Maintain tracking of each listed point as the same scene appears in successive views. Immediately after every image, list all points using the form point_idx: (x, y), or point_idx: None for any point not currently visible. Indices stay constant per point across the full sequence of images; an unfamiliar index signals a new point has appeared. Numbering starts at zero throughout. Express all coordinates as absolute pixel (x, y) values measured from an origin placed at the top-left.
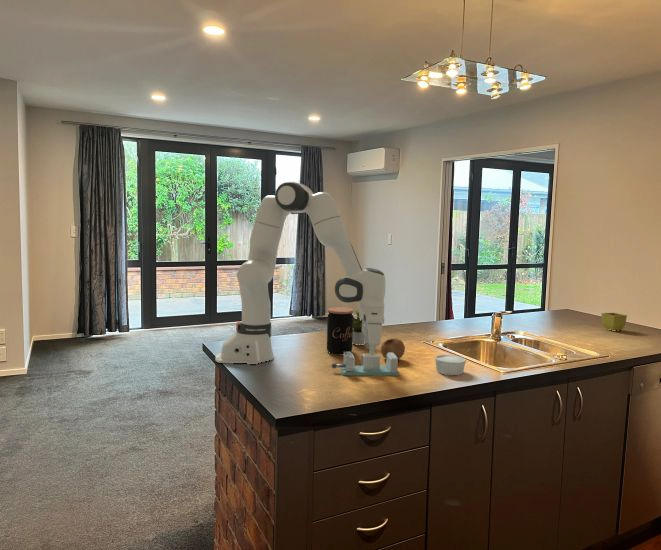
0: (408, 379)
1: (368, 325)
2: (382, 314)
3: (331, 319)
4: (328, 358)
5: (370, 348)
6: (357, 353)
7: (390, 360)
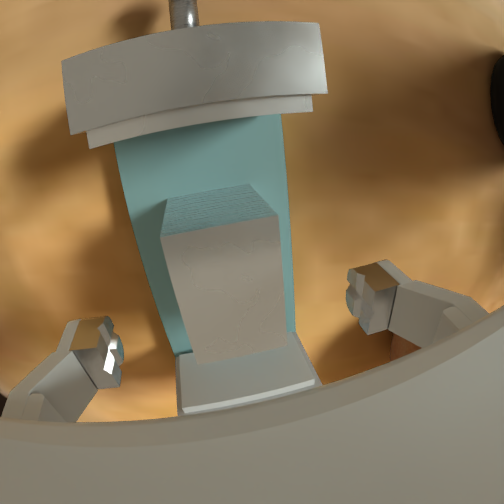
0: (139, 396)
1: None
2: None
3: None
4: (445, 22)
5: (33, 380)
6: (500, 178)
7: (186, 399)
